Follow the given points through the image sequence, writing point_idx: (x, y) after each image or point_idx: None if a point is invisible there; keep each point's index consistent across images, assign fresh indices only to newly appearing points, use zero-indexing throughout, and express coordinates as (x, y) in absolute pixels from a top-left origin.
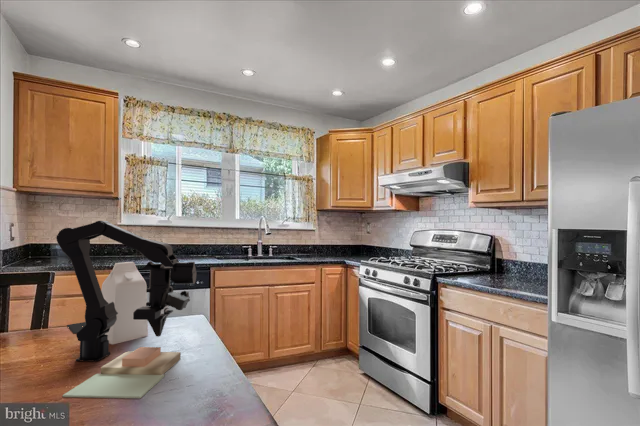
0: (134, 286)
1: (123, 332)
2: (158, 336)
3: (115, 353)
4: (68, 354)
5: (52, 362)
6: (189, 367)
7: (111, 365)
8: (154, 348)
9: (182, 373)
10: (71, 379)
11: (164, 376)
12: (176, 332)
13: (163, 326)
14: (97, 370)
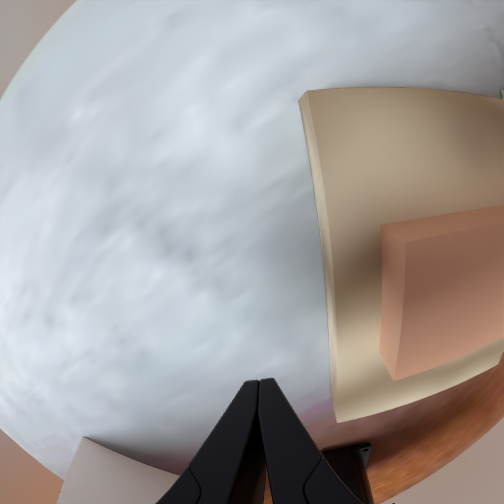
0: None
1: (160, 497)
2: (273, 382)
3: None
4: None
5: None
6: (394, 4)
7: (494, 347)
8: (431, 272)
9: (456, 21)
10: (487, 386)
11: (501, 89)
12: (7, 365)
13: (209, 445)
14: None
